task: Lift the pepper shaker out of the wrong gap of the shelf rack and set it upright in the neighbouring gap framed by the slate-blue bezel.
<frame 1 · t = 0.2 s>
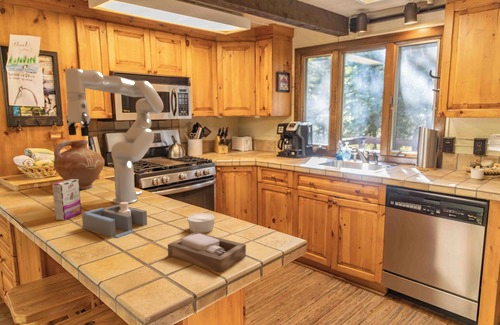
hand: (78, 135, 152), 36 cm above the worktop, tool pointing down, fingers open, 9 cm apart
candy bar box: (68, 217, 152), on the worktop
pepper shaker: (125, 224, 143), resting in shelf rack
shelf rack: (117, 226, 139), on the worktop
dispenser tray: (206, 255, 112), on the worktop
ramekin: (201, 229, 138), on the worktop
charger: (206, 254, 112), point 1 cm above the worktop, touching dispenser tray
jug: (81, 188, 208), on the worktop
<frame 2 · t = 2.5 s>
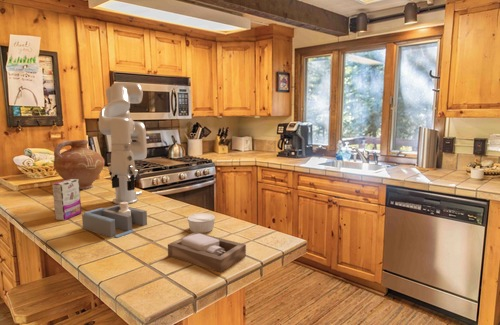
hand: (123, 188, 140), 16 cm above the worktop, tool pointing down, fingers open, 9 cm apart
nothing on the worktop moved.
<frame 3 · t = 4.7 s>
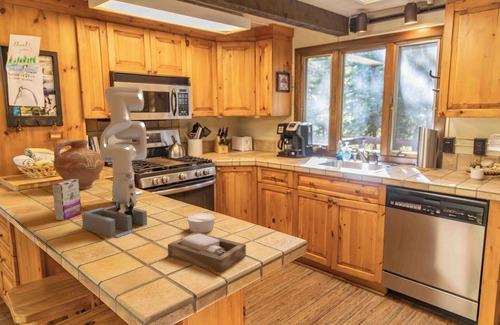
hand: (124, 217, 142), 3 cm above the worktop, tool pointing down, fingers closed on pepper shaker, 4 cm apart
pepper shaker: (125, 224, 143), resting in shelf rack, touching gripper
everything else where it was.
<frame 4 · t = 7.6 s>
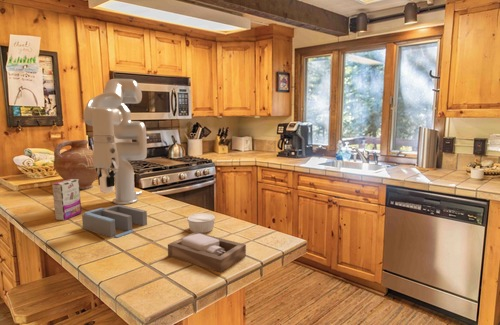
hand: (106, 185, 133), 19 cm above the worktop, tool pointing down, fingers closed on pepper shaker, 4 cm apart
pepper shaker: (107, 192, 134), point 15 cm above the worktop, touching gripper
everything else where it was.
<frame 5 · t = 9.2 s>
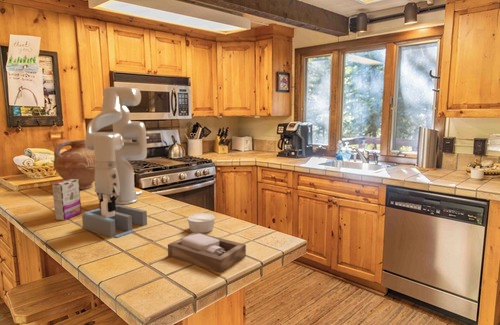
hand: (107, 209, 135), 8 cm above the worktop, tool pointing down, fingers closed on pepper shaker, 4 cm apart
pepper shaker: (108, 217, 135), point 5 cm above the worktop, touching gripper
everything else where it was.
when the fingers open (4 cm above the worktop, at t = 10.4 s): pepper shaker drops 1 cm, resting in shelf rack.
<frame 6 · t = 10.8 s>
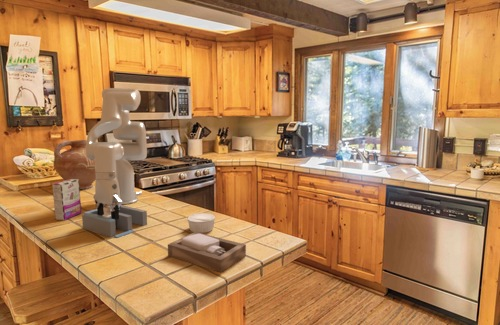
hand: (108, 217, 135), 5 cm above the worktop, tool pointing down, fingers open, 8 cm apart
pepper shaker: (109, 230, 136), resting in shelf rack
everything else where it was.
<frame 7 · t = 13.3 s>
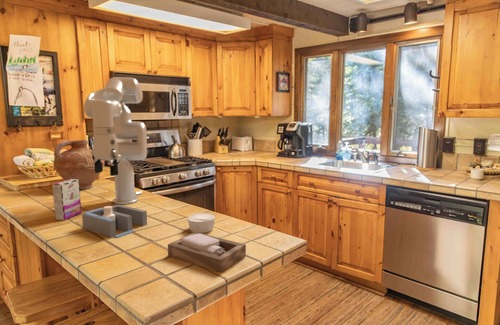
hand: (106, 173, 136), 23 cm above the worktop, tool pointing down, fingers open, 9 cm apart
nothing on the worktop moved.
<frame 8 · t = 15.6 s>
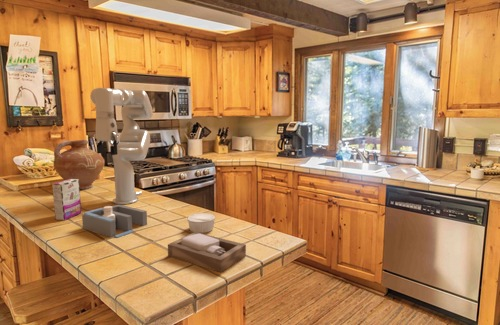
hand: (107, 153, 153), 28 cm above the worktop, tool pointing down, fingers open, 9 cm apart
nothing on the worktop moved.
at the end: pepper shaker inside the target area on the shelf rack (0.2 cm from its centre), point 0.0 cm above the shelf rack's base; pepper shaker tilted 0°; the gripper is holding nothing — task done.
